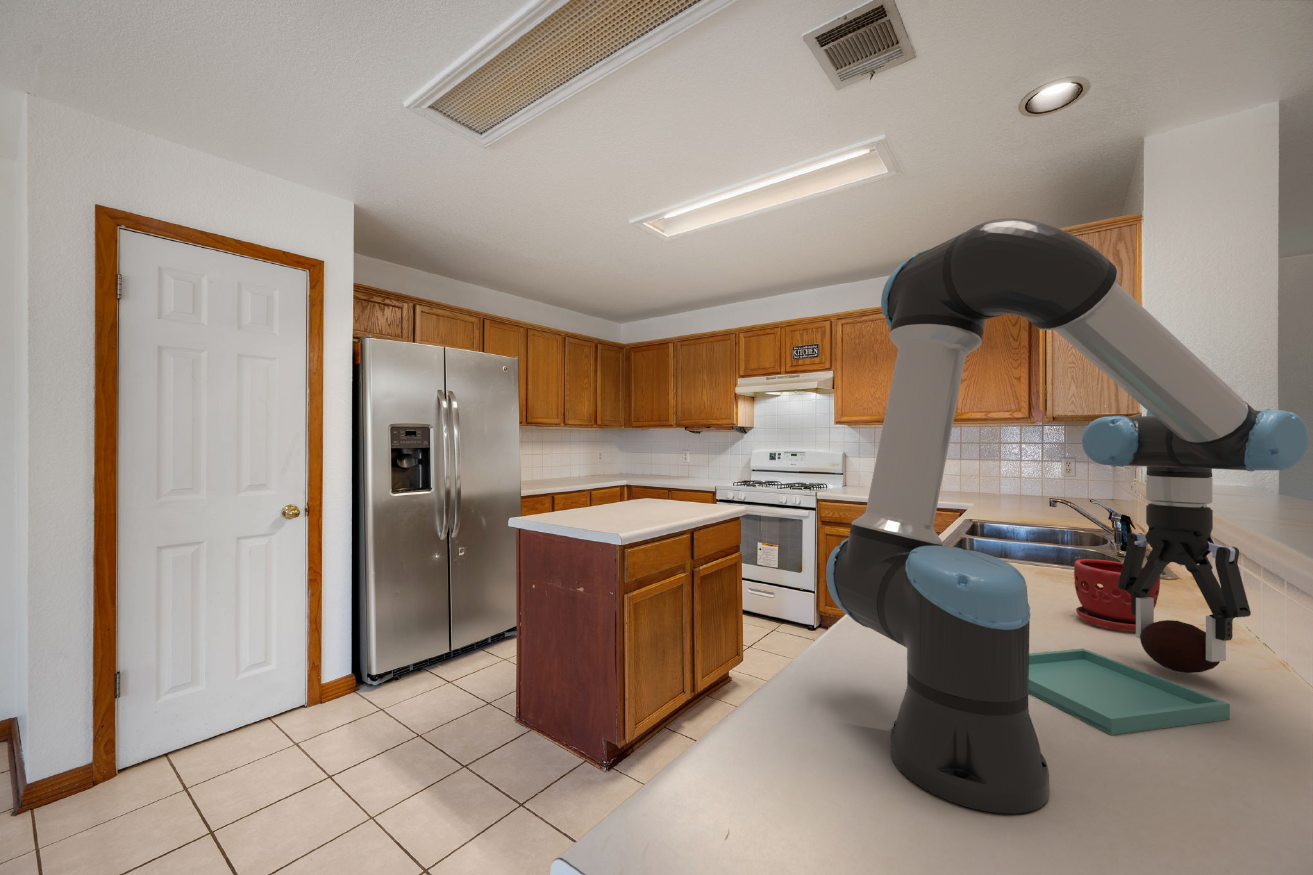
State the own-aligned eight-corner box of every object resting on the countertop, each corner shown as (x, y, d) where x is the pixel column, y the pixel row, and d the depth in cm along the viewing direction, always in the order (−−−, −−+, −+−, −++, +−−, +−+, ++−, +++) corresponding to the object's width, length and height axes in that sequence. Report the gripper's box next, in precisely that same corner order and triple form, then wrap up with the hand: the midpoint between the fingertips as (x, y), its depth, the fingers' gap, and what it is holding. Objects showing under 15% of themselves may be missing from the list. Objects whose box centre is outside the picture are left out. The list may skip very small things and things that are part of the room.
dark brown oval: (1148, 655, 90) (1148, 609, 90) (1227, 675, 83) (1227, 625, 83) (1131, 665, 86) (1131, 617, 86) (1213, 688, 78) (1213, 634, 78)
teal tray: (1111, 735, 67) (1111, 718, 67) (983, 670, 86) (983, 657, 86) (1230, 718, 71) (1230, 703, 71) (1083, 660, 90) (1083, 648, 90)
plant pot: (1092, 632, 104) (1092, 570, 104) (1063, 612, 116) (1063, 556, 116) (1176, 640, 100) (1176, 575, 100) (1136, 618, 112) (1136, 560, 113)
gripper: (1289, 512, 75) (1289, 675, 75) (1124, 497, 96) (1124, 624, 96) (1249, 512, 73) (1249, 679, 73) (1090, 497, 94) (1090, 626, 94)
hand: (1178, 648), depth 84 cm, fingers closed on dark brown oval, 9 cm apart
